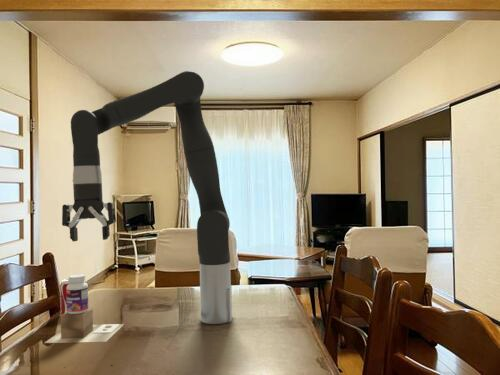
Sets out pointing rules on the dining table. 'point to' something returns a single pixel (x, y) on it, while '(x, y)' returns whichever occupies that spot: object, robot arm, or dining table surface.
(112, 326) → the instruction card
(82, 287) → the pill bottle
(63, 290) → the soda can
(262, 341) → the dining table surface
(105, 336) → the board
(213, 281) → the robot arm
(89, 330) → the walnut cube
